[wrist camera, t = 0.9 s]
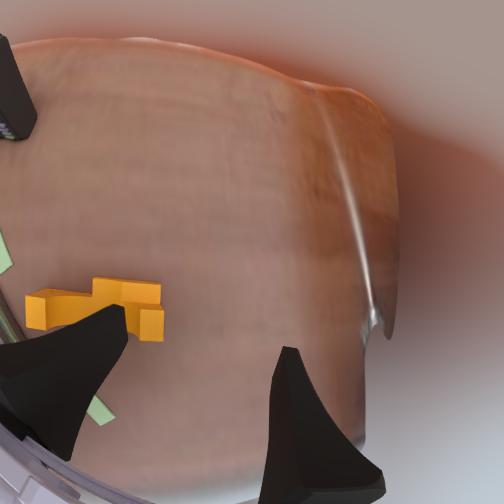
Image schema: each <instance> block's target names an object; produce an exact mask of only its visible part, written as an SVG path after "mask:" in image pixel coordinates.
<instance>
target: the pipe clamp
mask: <svg viewBox="0 0 504 504" xmlns="http://www.w3.org/2000/svg"><path fill="white" fill-rule="evenodd" d="M160 293H161V285H160V284H159V283H158V282H146V281H135V280H125V279H115V278H105V277H94V278H93V290H92V294H89V293H81V292H72V291H64V290H57V289H49V288H45V289H42V290H40V291H37V292H34V293H31V294H29V295H26V327H28V328H33V329H39V330H45V331H46V330H48V329H49V328H52V327H55V326H59V325H67V324H73V323H75V322H77V321H79V320H81V319H83V318H85V317H87V316H89V315H91V314H93V313H95V312H97V311H99V310H101V309H103V308H105V307H107V306H109V305H111V304H117V305H120V306H123V307H125V317H126V326H127V331H128V332H130V333H132V334H134V335H136V336H137V337H138V338H139V340H140V341H159V342H163V331H164V310H163V308H162V307H161V305H160Z"/></svg>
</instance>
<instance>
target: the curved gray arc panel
mask: <svg viewBox="0 0 504 504" xmlns="http://www.w3.org/2000/svg"><path fill="white" fill-rule="evenodd" d="M25 340H27V339H26V337H25V336H24V334H23V332H22V331H21V329H20V327H19V326H18V324H17V322H16V320H15V319H14V317H13V315H12V313H11V311H10V309H9V307H8V305H7V303H6V301H5V299H4V297H3V295H2V293H1V291H0V344H8V343H15V342H21V341H25Z"/></svg>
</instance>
